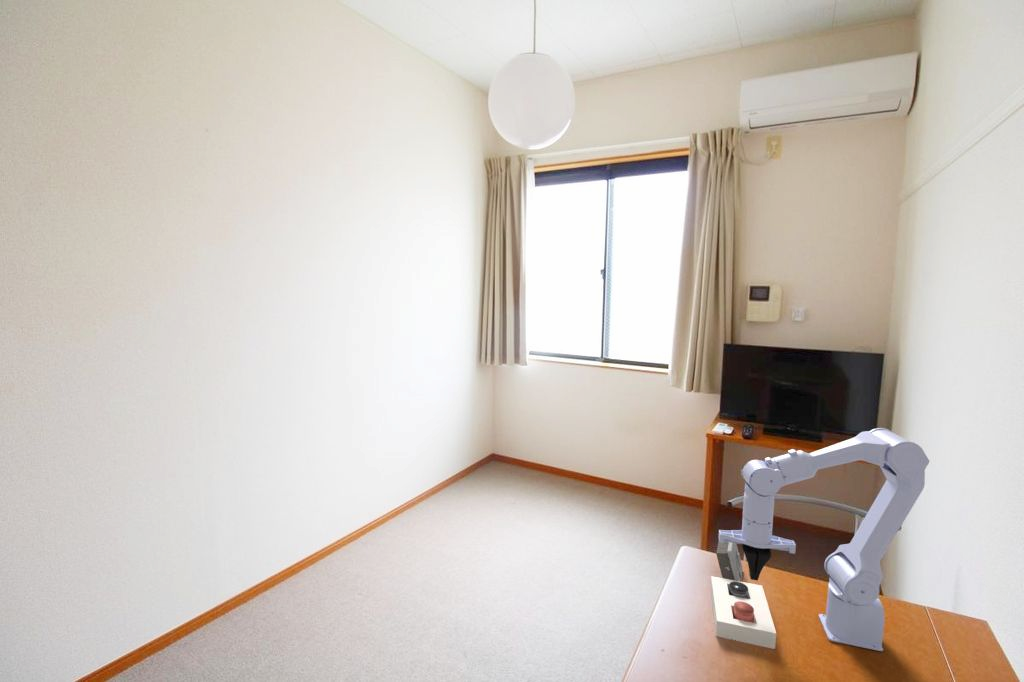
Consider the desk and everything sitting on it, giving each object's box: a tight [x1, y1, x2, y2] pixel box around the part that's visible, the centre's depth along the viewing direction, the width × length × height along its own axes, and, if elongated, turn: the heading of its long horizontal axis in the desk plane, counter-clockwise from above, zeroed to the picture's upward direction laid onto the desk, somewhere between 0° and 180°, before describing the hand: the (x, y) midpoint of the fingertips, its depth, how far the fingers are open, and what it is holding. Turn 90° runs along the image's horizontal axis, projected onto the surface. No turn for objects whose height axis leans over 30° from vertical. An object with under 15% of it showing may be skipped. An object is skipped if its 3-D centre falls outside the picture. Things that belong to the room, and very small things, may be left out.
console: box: [709, 575, 777, 650], centre depth 105 cm, size 11×16×4 cm
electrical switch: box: [715, 541, 743, 582], centre depth 120 cm, size 9×5×9 cm, turn 152°
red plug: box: [734, 601, 754, 623], centre depth 101 cm, size 4×4×4 cm
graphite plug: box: [729, 582, 748, 598], centre depth 109 cm, size 4×4×4 cm
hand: (753, 577), depth 103 cm, fingers closed
